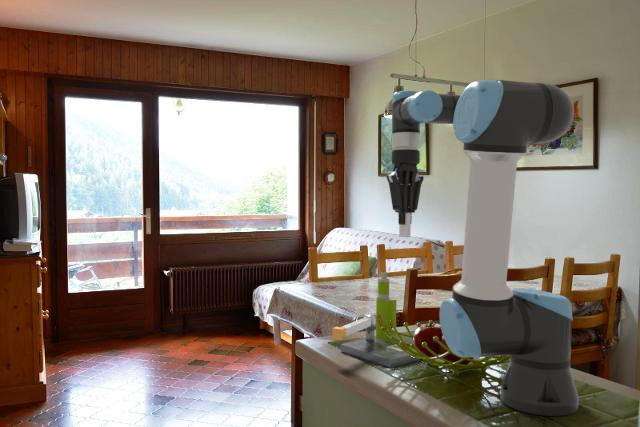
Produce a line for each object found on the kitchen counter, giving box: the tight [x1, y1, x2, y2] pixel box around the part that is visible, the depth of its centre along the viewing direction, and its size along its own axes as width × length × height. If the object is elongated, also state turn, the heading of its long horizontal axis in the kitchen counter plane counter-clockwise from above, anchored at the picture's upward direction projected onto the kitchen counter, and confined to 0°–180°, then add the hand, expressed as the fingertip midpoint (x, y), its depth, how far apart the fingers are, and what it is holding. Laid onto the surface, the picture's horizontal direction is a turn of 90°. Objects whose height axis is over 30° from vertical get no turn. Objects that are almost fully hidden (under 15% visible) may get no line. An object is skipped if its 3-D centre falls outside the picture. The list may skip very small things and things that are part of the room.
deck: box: [340, 329, 419, 369], centre depth 154 cm, size 18×12×5 cm, turn 40°
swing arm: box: [332, 313, 376, 341], centre depth 154 cm, size 20×3×4 cm, turn 148°
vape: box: [375, 271, 397, 344], centre depth 167 cm, size 4×6×20 cm, turn 48°
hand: (404, 236), depth 159 cm, fingers closed
